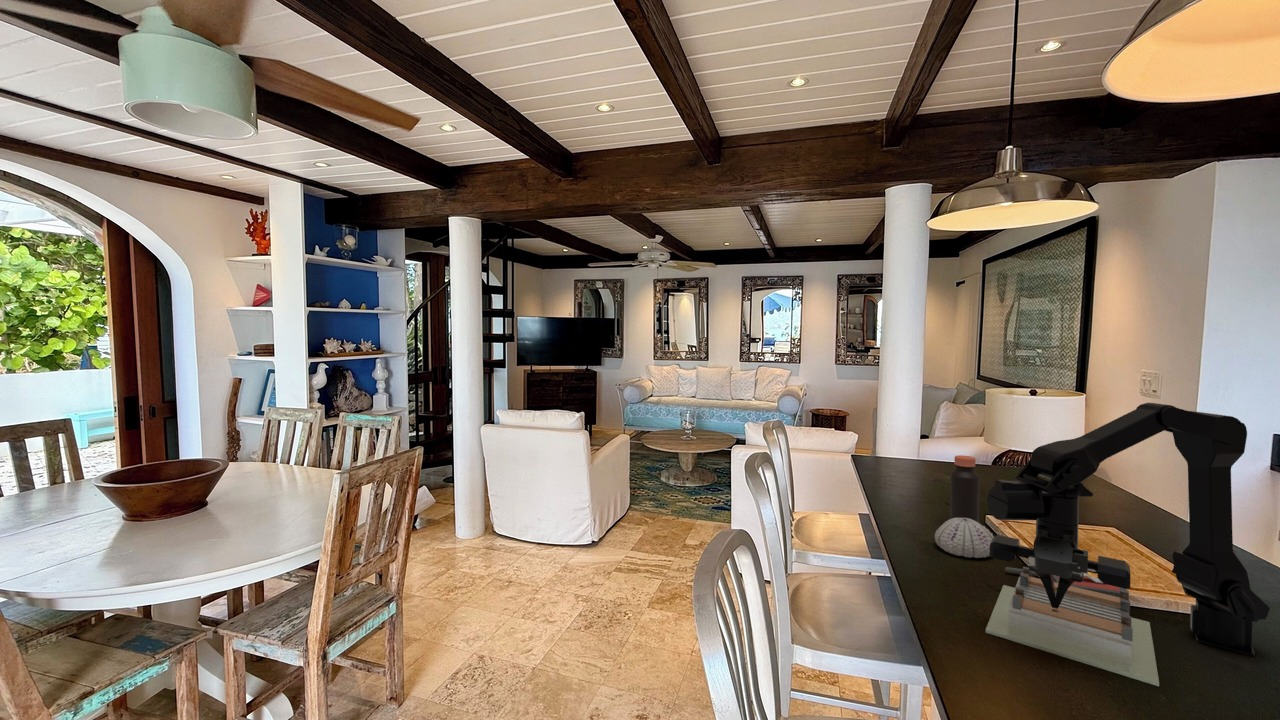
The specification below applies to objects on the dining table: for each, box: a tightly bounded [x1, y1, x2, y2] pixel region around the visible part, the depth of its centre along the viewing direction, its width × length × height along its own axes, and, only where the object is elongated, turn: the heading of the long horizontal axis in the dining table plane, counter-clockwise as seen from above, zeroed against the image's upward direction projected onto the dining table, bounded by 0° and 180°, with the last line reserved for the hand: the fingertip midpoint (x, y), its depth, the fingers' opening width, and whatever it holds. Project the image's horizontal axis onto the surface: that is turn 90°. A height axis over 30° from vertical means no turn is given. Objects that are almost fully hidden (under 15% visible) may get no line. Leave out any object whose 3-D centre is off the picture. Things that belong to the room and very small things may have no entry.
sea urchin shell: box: [934, 518, 995, 559], centre depth 128 cm, size 13×14×8 cm
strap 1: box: [1020, 572, 1127, 607], centre depth 97 cm, size 15×3×1 cm, turn 48°
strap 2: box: [1014, 593, 1130, 634], centre depth 88 cm, size 15×3×1 cm, turn 48°
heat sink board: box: [985, 566, 1160, 687], centre depth 93 cm, size 22×22×7 cm
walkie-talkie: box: [1004, 566, 1128, 598], centre depth 108 cm, size 9×4×20 cm
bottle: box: [949, 454, 980, 524], centre depth 142 cm, size 7×7×20 cm
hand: (1055, 607), depth 90 cm, fingers closed
